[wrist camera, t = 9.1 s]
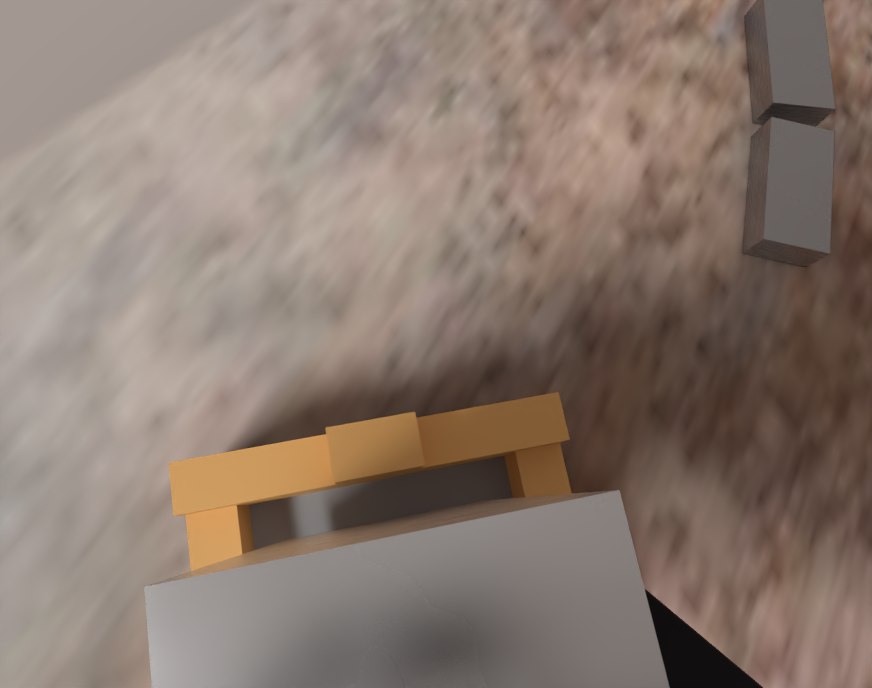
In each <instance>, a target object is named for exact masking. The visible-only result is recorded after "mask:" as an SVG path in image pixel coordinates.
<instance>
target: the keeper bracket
mask: <svg viewBox="0 0 872 688" xmlns="http://www.w3.org/2000/svg"><path fill="white" fill-rule="evenodd" d="M325 429H326V434H324V435H318V436H313V437H307V438H302V439H296V440H291V441H285V442H280V443H274V444H269V445H263V446H258V447H252V448H247V449H241V450H236V451H230V452H225V453H219V454H214V455H208V456H203V457H197V458H192V459H186V460H181V461H175V462H170V463H169V471H170V482H171V492H172V503H173V513H174V516H178V515H186V524H187V534H188V544H189V555H190V565H191V571H193V570H196V569H199V568H202V567H205V566H208V565H211V564H214V563H217V562H220V561H223V560H226V559H230V558H233V557H236V556H239V555H242V554H245V553H248V552H251V551H254V550H257V549H260V548H263V547H266V546H269V545H272V544H275V543H278V542H281V541H284V540H288V539H293V538H298V537H303V536H308V535H313V534H318V533H323V532H328V531H333V530H338V529H343V528H348V527H353V526H358V525H363V524H368V523H373V522H378V521H383V520H388V519H393V518H398V517H403V516H408V515H413V514H418V513H423V512H428V511H433V510H438V509H443V508H448V507H453V506H458V505H463V504H468V503H473V502H478V501H483V500H495V499H508V498H521V497H534V496H547V495H560V494H572V492H571V488H570V484H569V479H568V475H567V471H566V467H565V462H564V458H563V454H562V450H561V445H560V443H561V442H564V441H567V440H570V437H569V433H568V429H567V425H566V421H565V416H564V412H563V408H562V404H561V400H560V395H559V392H555V393H549V394H544V395H538V396H533V397H527V398H522V399H516V400H511V401H505V402H500V403H494V404H489V405H483V406H478V407H472V408H467V409H461V410H456V411H450V412H445V413H439V414H434V415H428V416H423V417H417V418H416V414H415V412H409V413H404V414H398V415H393V416H387V417H382V418H376V419H371V420H365V421H360V422H354V423H348V424H343V425H337V426H332V427H326V428H325Z"/></svg>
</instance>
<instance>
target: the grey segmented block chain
mask: <svg viewBox="0 0 872 688" xmlns="http://www.w3.org/2000/svg"><path fill="white" fill-rule="evenodd" d="M744 18H745V31H746V43H747V56H748V68H749V81H750V93H751V106H752V118H753V123H756V124H764V125H763V126H762V127H761V128H760V129H759V130H758V131H757V132H756V133H755V134H754V135H753V136H752V137H751V147H750V160H749V173H748V187H747V200H746V213H745V227H744V240H743V254H748V255H752V256H757V257H762V258H766V259H771V260H775V261H780V262H784V263H789V264H793V265H798V266H802V267H807V266H809V265H810V264H812V263H814V262H816V261H818V260H819V259H821V258H823V257H825V256H827V255H828V254H830V243H831V215H832V188H833V160H834V132H835V131H831V130H827V129H823V128H818V127H815V126H816V125H817V124H819V123H820V122H821V121H822V120H823V119H824V118H826V117H827V116H828V115H829V114H830V113H831V112H832V111H834V110H835V101H834V93H833V84H832V76H831V67H830V59H829V50H828V41H827V33H826V24H825V16H824V7H823V0H756V2H755V3H754V4H753V6H752V7H751V8H750V10H749V11H748V12H747V14H746V15H745V16H744Z"/></svg>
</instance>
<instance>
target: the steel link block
mask: <svg viewBox="0 0 872 688" xmlns="http://www.w3.org/2000/svg"><path fill="white" fill-rule="evenodd" d="M144 591H145V604H146V617H147V629H148V642H149V655H150V667H151V680H152V688H670V687H669V683H668V679H667V675H666V671H665V667H664V664H663V660H662V656H661V652H660V648H659V644H658V640H657V636H656V632H655V628H654V624H653V620H652V616H651V612H650V608H649V604H648V600H647V597H646V593H645V589H644V585H643V581H642V577H641V573H640V569H639V565H638V561H637V557H636V553H635V549H634V545H633V541H632V537H631V533H630V529H629V526H628V522H627V518H626V514H625V510H624V506H623V502H622V498H621V494H620V490H613V491H600V492H587V493H573V494H560V495H547V496H534V497H521V498H508V499H495V500H483V501H478V502H473V503H468V504H463V505H458V506H453V507H448V508H443V509H438V510H433V511H428V512H423V513H418V514H413V515H408V516H403V517H398V518H393V519H388V520H383V521H378V522H373V523H368V524H363V525H358V526H353V527H348V528H343V529H338V530H333V531H328V532H323V533H318V534H313V535H308V536H303V537H298V538H293V539H288V540H284V541H281V542H278V543H275V544H272V545H269V546H266V547H263V548H260V549H257V550H254V551H251V552H248V553H245V554H242V555H239V556H236V557H233V558H230V559H226V560H223V561H220V562H217V563H214V564H211V565H208V566H205V567H202V568H199V569H196V570H193V571H190V572H187V573H184V574H181V575H178V576H175V577H172V578H169V579H166V580H163V581H160V582H157V583H154V584H151V585H148V586H145V587H144Z"/></svg>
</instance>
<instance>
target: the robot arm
mask: <svg viewBox="0 0 872 688" xmlns="http://www.w3.org/2000/svg"><path fill="white" fill-rule="evenodd" d="M644 589H645V588H644ZM645 593H646V597H647V600H648V604H649V608H650V612H651V616H652V620H653V624H654V628H655V632H656V636H657V640H658V644H659V648H660V652H661V656H662V660H663V664H664V667H665V671H666V675H667V679H668V683H669V687H670V688H763V687H762V686H761V685H759V684H758V683H757V682H756V681H755V680H753V679H752V678H751V677H750V676H749V675H747V674H746V673H745V672H744V671H743V670H742V669H740V668H739V667H738V666H737V665H736V664H734V663H733V662H732V661H731V660H730V659H728V658H727V657H726V656H725V655H724V654H722V653H721V652H720V651H719V650H718V649H716V648H715V647H714V646H713V645H712V644H710V643H709V642H708V641H707V640H706V639H704V638H703V637H702V636H701V635H700V634H698V633H697V632H696V631H695V630H694V629H692V628H691V627H690V626H689V625H688V624H686V623H685V622H684V621H683V620H682V619H680V618H679V617H678V616H677V615H676V614H674V613H673V612H672V611H671V610H670V609H668V608H667V607H666V606H665V605H664V604H662V603H661V602H660V601H659V600H658V599H656V598H655V597H654V596H653V595H652V594H651V593H649V592H648V591H647V590H646V589H645Z"/></svg>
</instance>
